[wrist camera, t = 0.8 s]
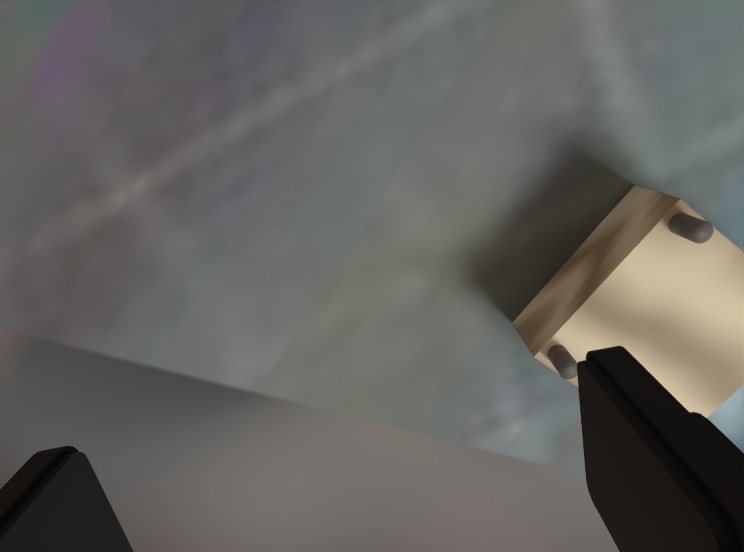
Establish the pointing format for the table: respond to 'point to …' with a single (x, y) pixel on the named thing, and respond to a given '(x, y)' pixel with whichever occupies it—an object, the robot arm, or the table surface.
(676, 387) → the pegged square board
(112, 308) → the table surface
